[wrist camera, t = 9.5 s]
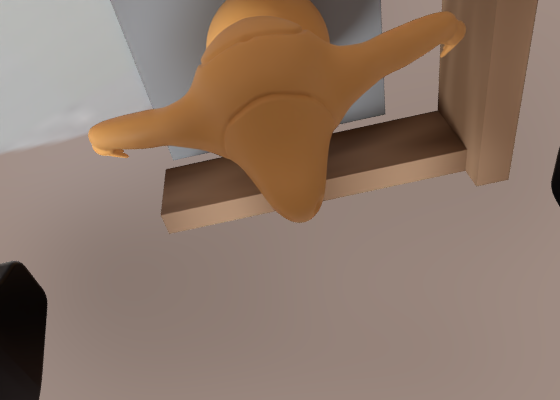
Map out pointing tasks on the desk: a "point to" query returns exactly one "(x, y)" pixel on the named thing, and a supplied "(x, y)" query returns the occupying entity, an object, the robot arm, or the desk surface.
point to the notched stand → (360, 141)
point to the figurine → (275, 95)
